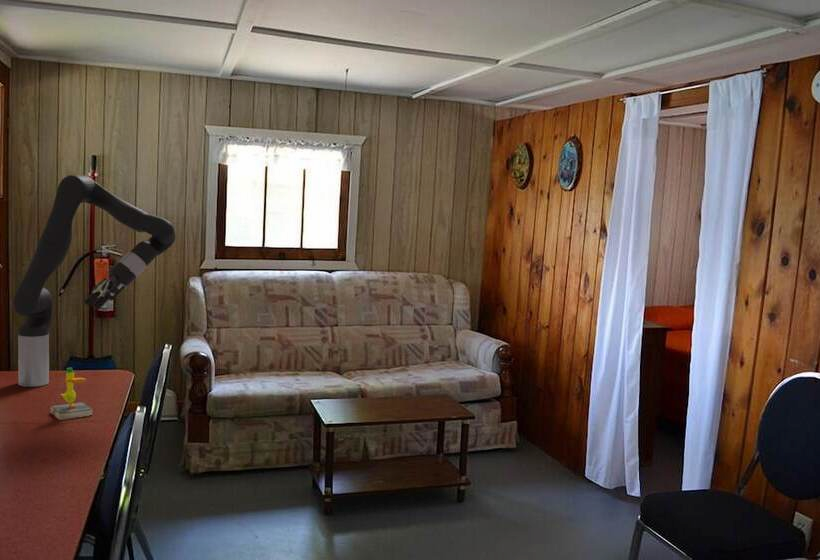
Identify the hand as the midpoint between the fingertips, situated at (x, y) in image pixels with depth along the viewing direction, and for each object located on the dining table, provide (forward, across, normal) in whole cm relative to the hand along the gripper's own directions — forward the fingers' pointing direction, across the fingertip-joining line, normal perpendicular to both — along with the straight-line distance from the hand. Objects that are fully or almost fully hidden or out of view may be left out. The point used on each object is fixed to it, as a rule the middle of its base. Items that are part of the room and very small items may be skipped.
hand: (90, 305), depth 220 cm
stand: (+28, +11, +16) cm, 34 cm away
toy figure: (+26, +11, +14) cm, 32 cm away
